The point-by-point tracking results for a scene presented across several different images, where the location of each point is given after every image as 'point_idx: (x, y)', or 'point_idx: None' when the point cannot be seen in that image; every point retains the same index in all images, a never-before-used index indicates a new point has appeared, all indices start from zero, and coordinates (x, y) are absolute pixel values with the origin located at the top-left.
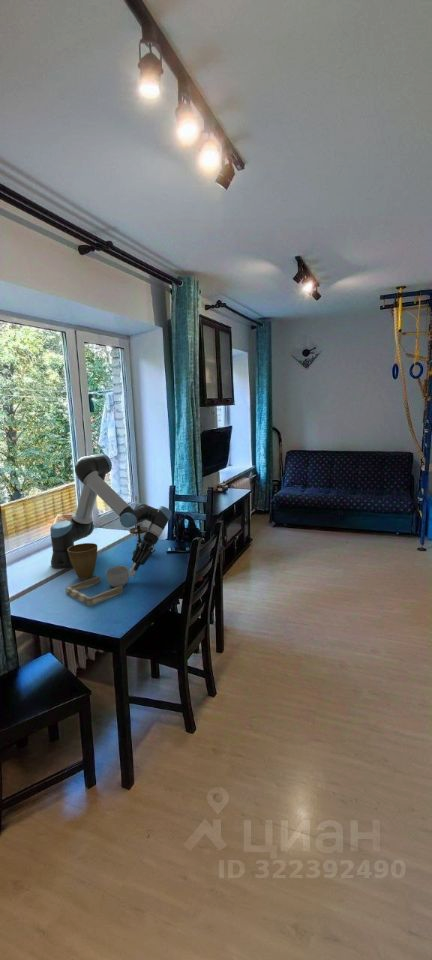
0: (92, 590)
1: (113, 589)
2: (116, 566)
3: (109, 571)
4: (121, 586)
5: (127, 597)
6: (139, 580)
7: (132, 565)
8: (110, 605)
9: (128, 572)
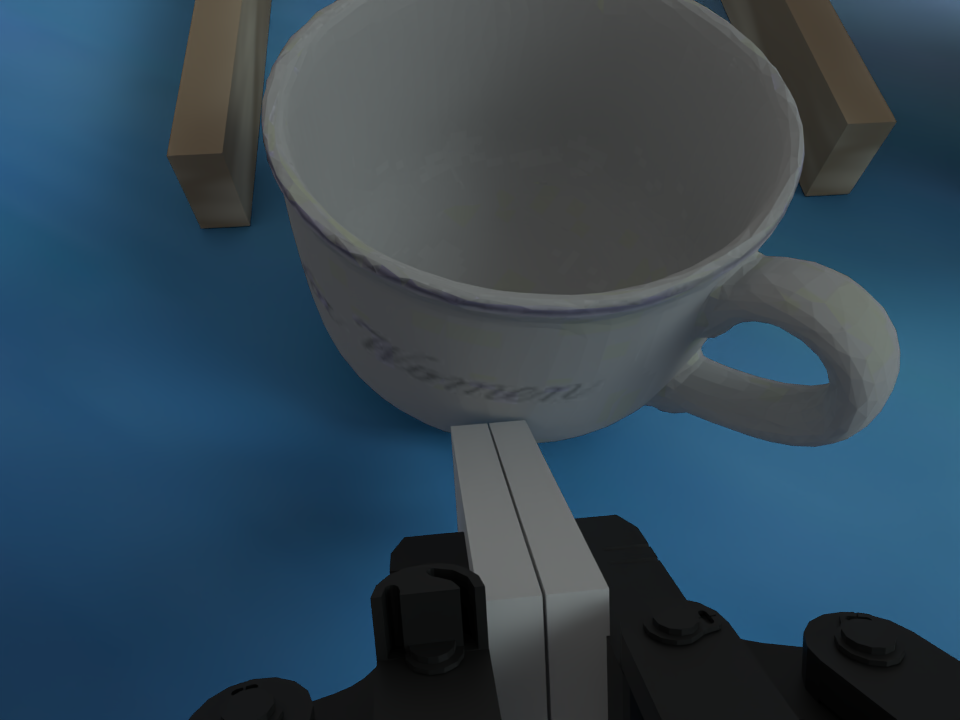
0: None
1: (203, 49)
2: (793, 185)
3: (726, 99)
4: (179, 148)
5: (8, 196)
6: None
7: (563, 525)
8: (50, 12)
9: (529, 436)
